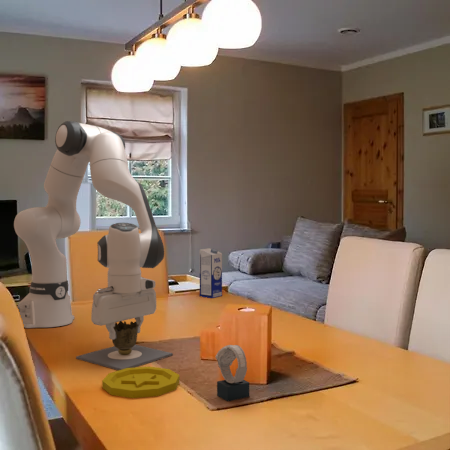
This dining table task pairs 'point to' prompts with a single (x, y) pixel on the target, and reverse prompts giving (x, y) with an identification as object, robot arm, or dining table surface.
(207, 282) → the milk carton
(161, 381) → the decorative disc
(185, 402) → the dining table surface
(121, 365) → the charcoal mat
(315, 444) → the dining table surface
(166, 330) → the dining table surface
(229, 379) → the watch
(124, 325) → the cup
